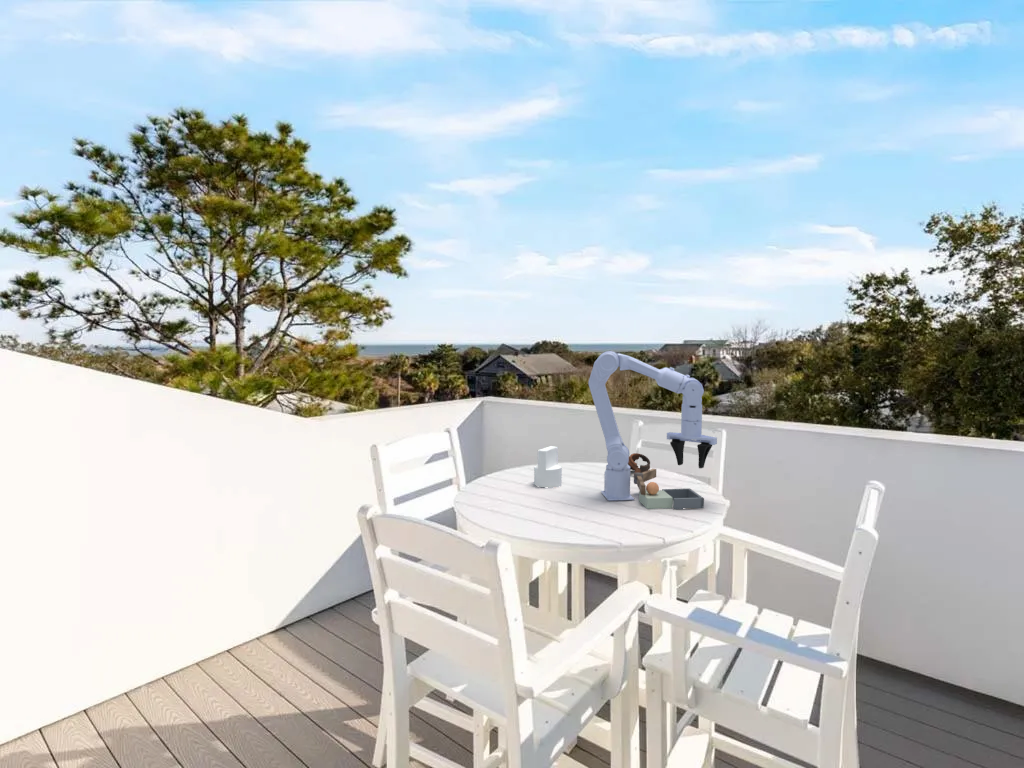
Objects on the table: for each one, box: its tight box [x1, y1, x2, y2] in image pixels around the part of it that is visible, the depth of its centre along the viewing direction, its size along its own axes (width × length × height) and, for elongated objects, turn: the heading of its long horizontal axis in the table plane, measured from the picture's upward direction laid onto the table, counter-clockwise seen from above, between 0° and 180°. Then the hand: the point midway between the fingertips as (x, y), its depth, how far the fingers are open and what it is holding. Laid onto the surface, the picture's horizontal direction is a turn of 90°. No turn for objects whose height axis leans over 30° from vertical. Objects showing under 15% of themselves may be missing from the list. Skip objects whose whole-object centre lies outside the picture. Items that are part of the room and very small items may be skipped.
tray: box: [661, 487, 705, 510], centre depth 172 cm, size 11×8×3 cm
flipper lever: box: [633, 468, 657, 495], centre depth 180 cm, size 23×6×3 cm, turn 159°
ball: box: [646, 481, 660, 495], centre depth 171 cm, size 4×4×4 cm
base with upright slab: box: [533, 445, 563, 489], centre depth 194 cm, size 9×9×12 cm
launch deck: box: [638, 489, 673, 510], centre depth 171 cm, size 8×7×3 cm
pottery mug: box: [628, 452, 651, 473], centre depth 208 cm, size 12×10×8 cm
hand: (690, 466), depth 174 cm, fingers open, 6 cm apart
